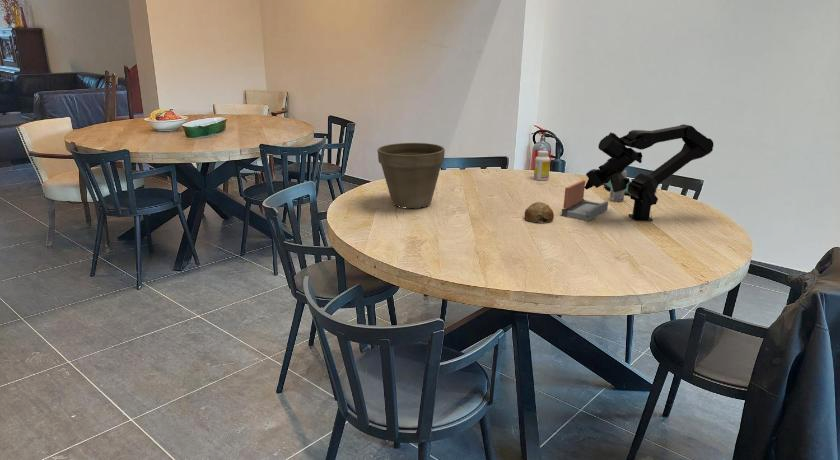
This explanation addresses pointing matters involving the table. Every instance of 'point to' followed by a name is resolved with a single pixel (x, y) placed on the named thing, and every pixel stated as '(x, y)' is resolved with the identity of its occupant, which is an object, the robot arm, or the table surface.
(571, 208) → the sill
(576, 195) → the panel
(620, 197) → the energy drink
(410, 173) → the plant pot
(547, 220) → the bread roll
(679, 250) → the table surface
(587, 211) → the tray
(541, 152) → the supplement bottle
